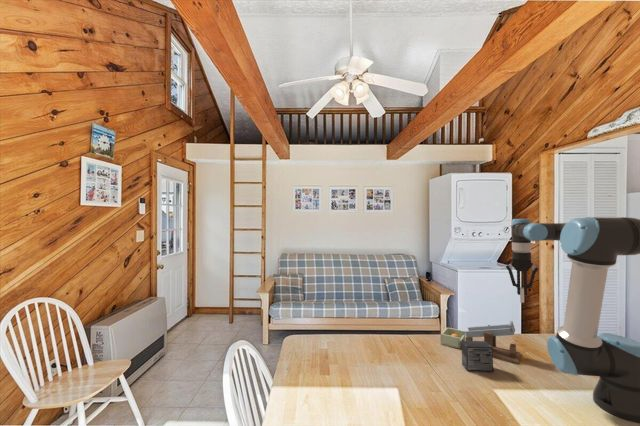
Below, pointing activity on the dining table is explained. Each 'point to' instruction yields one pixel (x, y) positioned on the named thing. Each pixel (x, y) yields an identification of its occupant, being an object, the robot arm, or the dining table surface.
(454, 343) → the dish
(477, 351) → the small box
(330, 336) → the dining table surface
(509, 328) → the lever
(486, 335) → the stand
